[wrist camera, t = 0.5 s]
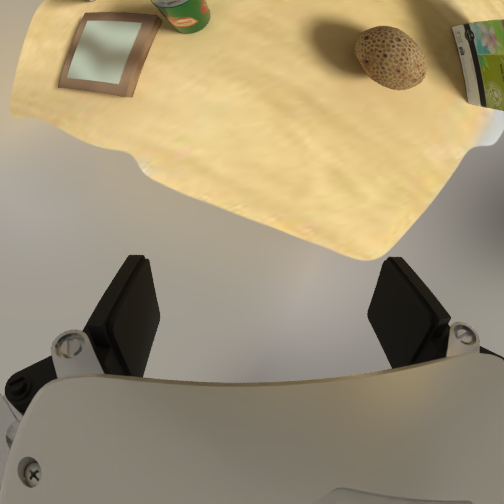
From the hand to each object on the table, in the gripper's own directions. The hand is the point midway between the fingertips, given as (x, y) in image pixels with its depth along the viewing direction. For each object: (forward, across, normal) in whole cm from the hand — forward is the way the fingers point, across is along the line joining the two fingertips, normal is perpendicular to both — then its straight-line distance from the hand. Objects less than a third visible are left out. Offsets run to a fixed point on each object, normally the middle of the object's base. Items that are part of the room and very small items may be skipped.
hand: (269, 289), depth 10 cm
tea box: (+29, -39, -23) cm, 54 cm away
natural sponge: (+29, -17, -16) cm, 37 cm away
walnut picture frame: (+29, +20, -17) cm, 39 cm away
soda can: (+29, +8, -21) cm, 36 cm away
